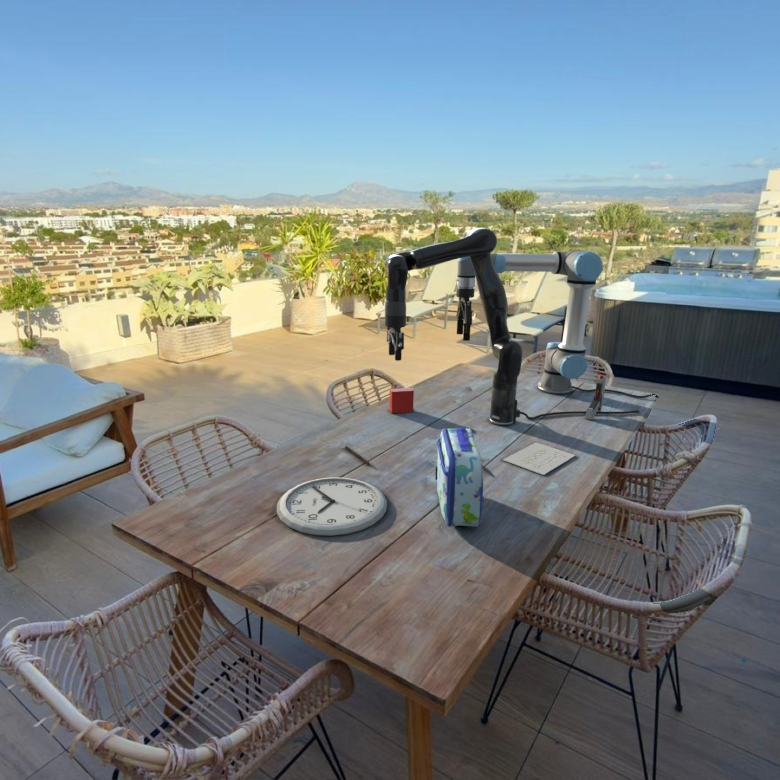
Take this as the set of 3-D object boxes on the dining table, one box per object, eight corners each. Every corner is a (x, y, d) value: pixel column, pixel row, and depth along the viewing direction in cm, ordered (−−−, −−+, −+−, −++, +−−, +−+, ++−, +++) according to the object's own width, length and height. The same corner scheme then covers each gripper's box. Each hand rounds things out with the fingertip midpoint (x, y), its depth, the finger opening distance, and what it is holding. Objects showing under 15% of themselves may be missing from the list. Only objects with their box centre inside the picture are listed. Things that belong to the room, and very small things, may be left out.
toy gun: (589, 383, 206) (600, 373, 217) (585, 421, 211) (596, 408, 223) (595, 384, 204) (606, 374, 215) (590, 422, 210) (602, 410, 221)
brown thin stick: (344, 448, 179) (344, 445, 179) (346, 448, 179) (346, 445, 179) (367, 464, 167) (367, 462, 167) (368, 464, 167) (368, 461, 167)
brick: (389, 410, 218) (389, 388, 215) (410, 408, 220) (411, 387, 217) (391, 413, 214) (392, 391, 211) (413, 412, 216) (413, 390, 213)
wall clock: (392, 527, 129) (268, 531, 127) (391, 533, 130) (269, 537, 127) (383, 473, 158) (282, 475, 155) (383, 478, 158) (282, 480, 156)
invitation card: (535, 442, 186) (575, 454, 176) (535, 442, 187) (575, 455, 176) (502, 459, 172) (543, 474, 162) (502, 460, 172) (543, 475, 162)
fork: (483, 474, 162) (483, 469, 161) (463, 454, 176) (463, 448, 176) (491, 474, 162) (491, 468, 162) (470, 453, 177) (470, 447, 176)
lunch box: (433, 484, 155) (436, 418, 148) (469, 485, 155) (474, 419, 148) (440, 534, 130) (444, 457, 124) (483, 535, 130) (489, 458, 124)
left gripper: (411, 316, 179) (410, 361, 184) (400, 309, 193) (399, 352, 197) (390, 316, 178) (390, 363, 182) (380, 310, 191) (380, 353, 196)
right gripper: (451, 284, 231) (449, 331, 238) (463, 291, 208) (460, 343, 214) (468, 284, 232) (465, 331, 238) (481, 291, 208) (478, 343, 214)
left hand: (394, 357), depth 190 cm, fingers open, 8 cm apart
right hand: (462, 337), depth 226 cm, fingers open, 13 cm apart
